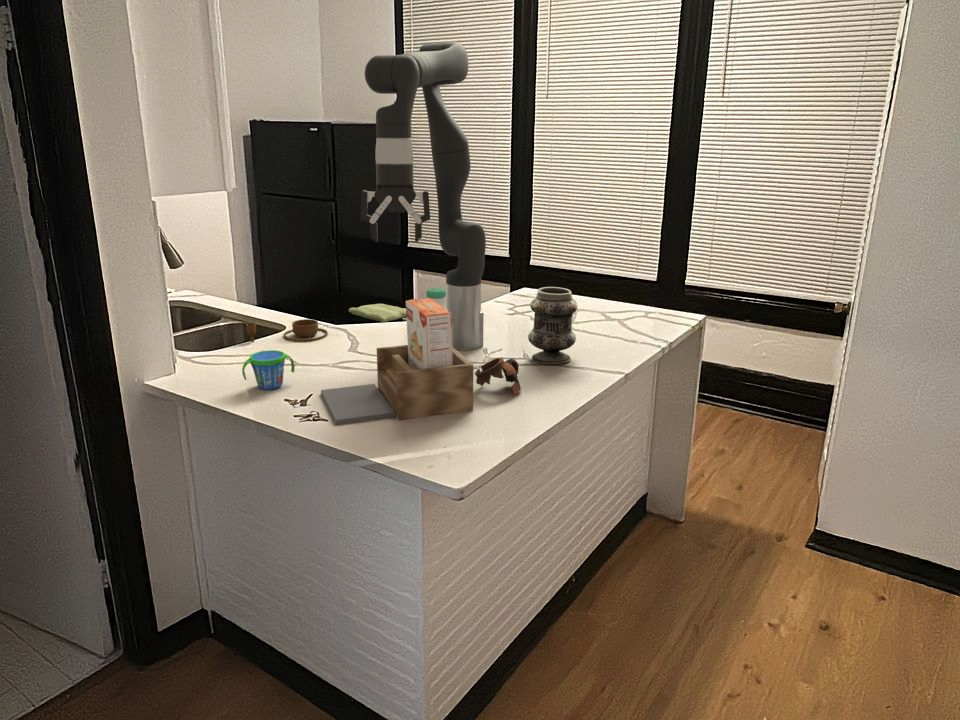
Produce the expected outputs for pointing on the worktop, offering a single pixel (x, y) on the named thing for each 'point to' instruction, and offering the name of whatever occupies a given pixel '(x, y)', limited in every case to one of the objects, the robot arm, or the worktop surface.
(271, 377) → the snack cup
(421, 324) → the cracker box
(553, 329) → the apothecary jar
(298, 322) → the place setting
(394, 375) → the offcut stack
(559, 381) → the worktop surface
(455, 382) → the wooden box
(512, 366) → the brown jagged arch
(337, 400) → the mat
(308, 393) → the worktop surface
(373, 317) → the washcloth
